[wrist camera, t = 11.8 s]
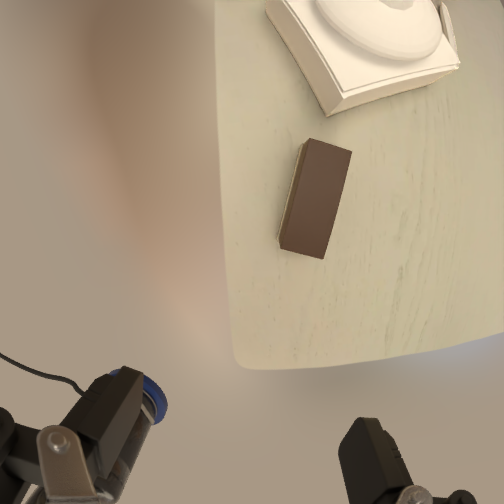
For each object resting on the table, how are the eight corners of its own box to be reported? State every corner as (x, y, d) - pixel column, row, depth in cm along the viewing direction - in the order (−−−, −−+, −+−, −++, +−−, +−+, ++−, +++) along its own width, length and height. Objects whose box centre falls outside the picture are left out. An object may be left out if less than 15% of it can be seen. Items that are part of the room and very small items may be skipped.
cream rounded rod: (442, 5, 27) (446, 2, 25) (455, 69, 30) (460, 66, 28) (434, 2, 27) (439, -2, 25) (447, 66, 30) (453, 63, 28)
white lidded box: (326, 117, 33) (369, 71, 17) (264, 11, 30) (263, -65, 14) (429, 85, 31) (496, 49, 15) (368, -10, 27) (402, -70, 12)
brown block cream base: (300, 145, 34) (308, 135, 27) (337, 156, 34) (353, 149, 27) (276, 239, 36) (279, 250, 30) (313, 249, 36) (323, 261, 30)
